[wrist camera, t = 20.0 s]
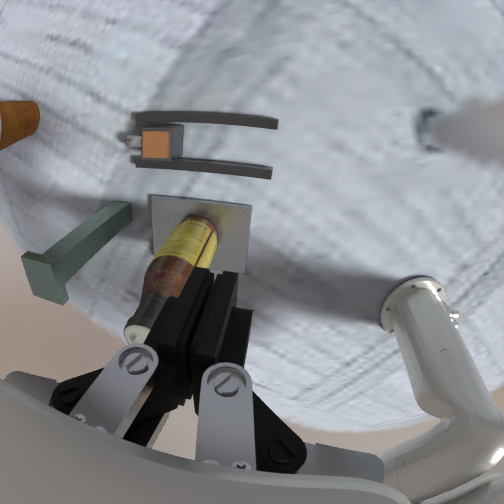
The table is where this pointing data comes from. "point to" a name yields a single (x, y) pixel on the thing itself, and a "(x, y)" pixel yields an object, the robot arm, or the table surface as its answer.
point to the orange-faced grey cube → (158, 142)
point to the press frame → (155, 215)
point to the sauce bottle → (171, 272)
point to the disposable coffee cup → (17, 121)
